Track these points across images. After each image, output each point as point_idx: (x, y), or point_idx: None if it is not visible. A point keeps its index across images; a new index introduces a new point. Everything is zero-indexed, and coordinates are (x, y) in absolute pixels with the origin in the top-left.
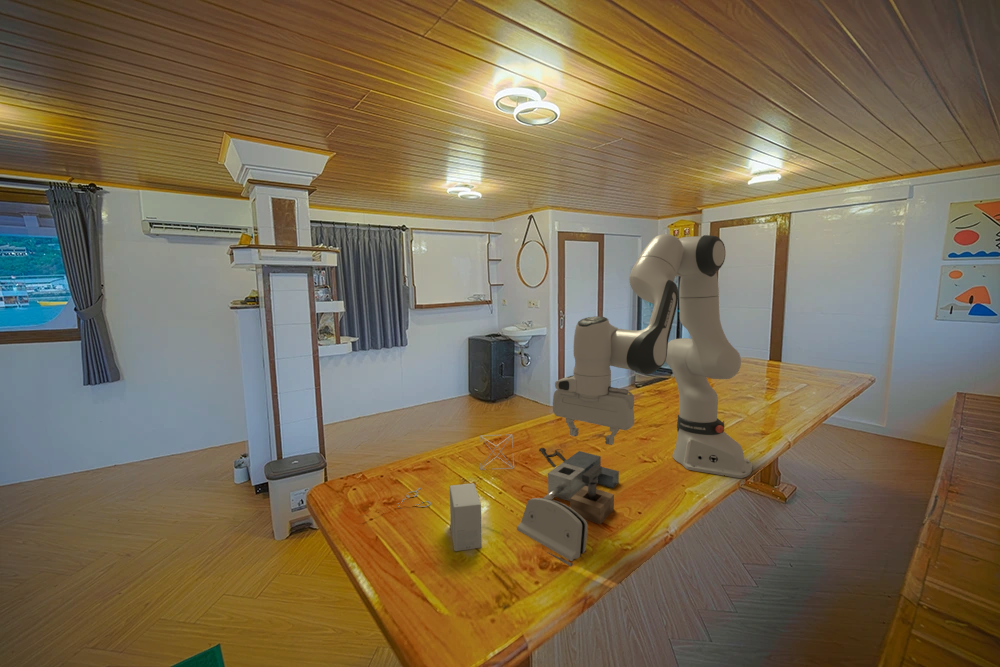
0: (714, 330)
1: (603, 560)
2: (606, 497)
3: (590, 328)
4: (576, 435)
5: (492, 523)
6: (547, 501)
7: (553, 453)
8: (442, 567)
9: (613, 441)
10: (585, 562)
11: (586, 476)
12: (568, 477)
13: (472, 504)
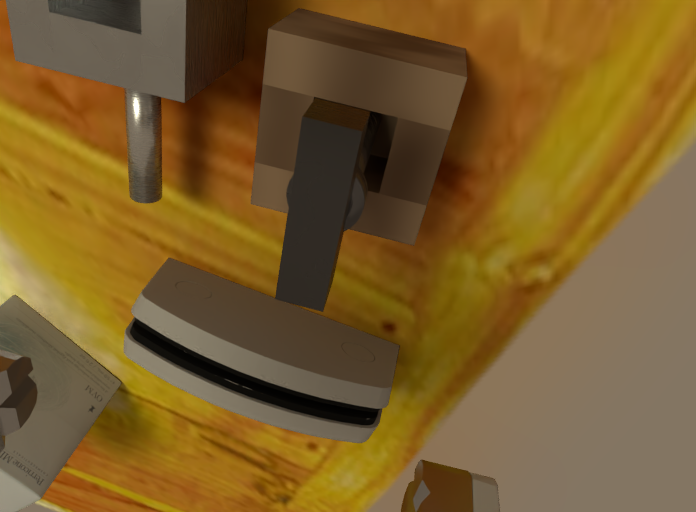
0: None
1: (459, 351)
2: (427, 131)
3: None
4: (25, 373)
5: (62, 284)
6: (207, 399)
7: None
8: (102, 447)
9: (492, 502)
10: (407, 370)
11: (304, 304)
12: (153, 71)
13: (22, 505)
